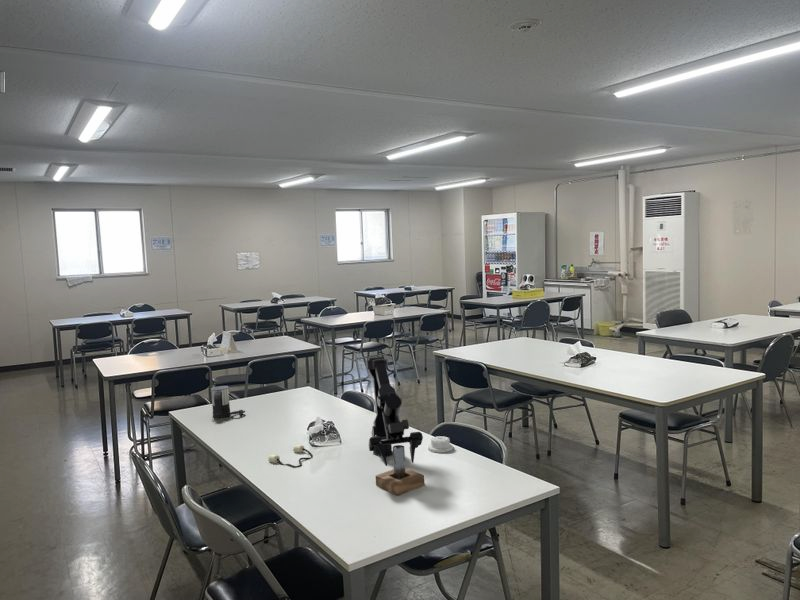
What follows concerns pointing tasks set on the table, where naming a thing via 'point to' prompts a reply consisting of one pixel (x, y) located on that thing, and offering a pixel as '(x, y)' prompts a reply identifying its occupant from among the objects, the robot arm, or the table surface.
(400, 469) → the steel pin
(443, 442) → the mechanical component
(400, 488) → the walnut bore block
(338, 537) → the table surface
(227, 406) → the milk frother
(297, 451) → the cable
